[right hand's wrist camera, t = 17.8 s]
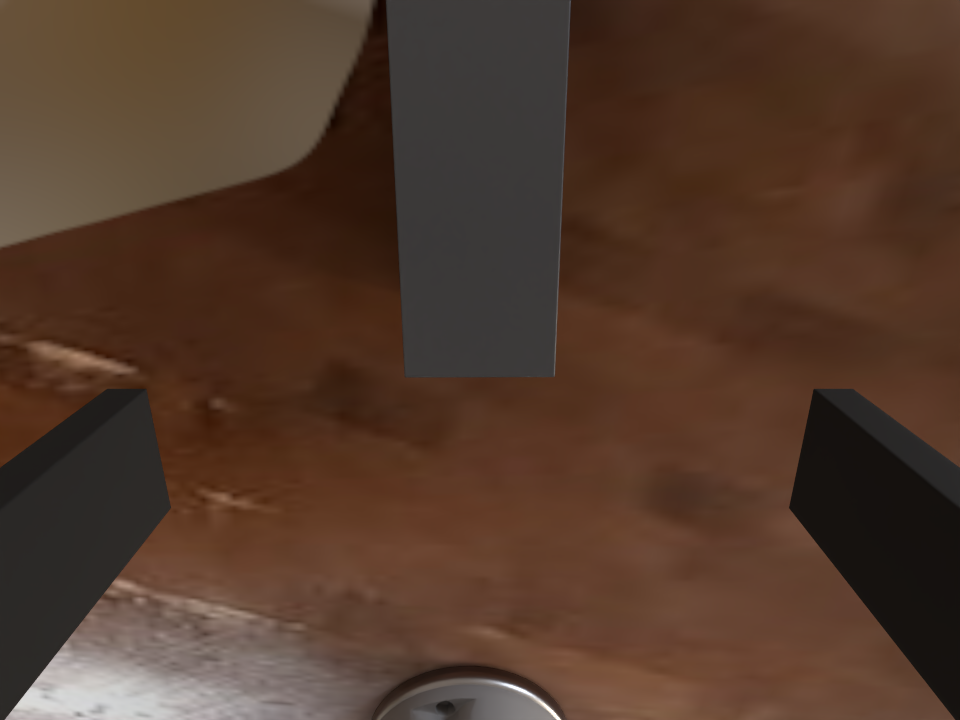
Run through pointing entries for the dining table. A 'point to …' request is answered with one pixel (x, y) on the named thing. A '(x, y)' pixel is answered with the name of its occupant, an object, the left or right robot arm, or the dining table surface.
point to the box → (478, 181)
